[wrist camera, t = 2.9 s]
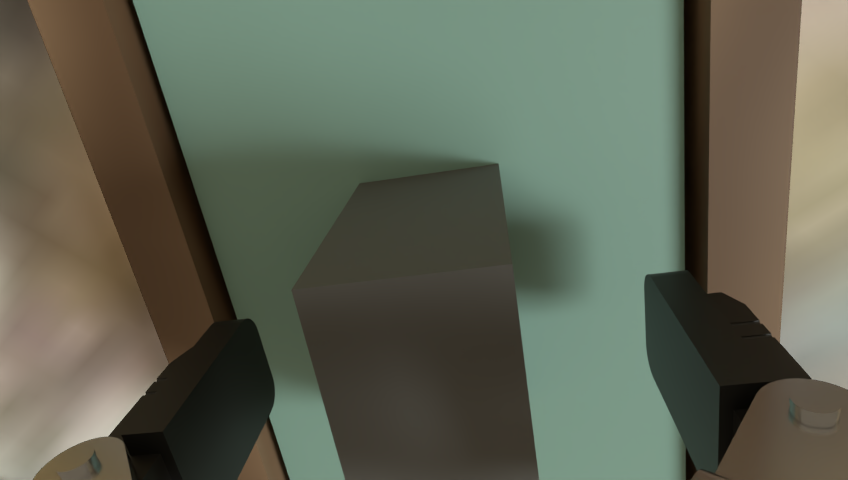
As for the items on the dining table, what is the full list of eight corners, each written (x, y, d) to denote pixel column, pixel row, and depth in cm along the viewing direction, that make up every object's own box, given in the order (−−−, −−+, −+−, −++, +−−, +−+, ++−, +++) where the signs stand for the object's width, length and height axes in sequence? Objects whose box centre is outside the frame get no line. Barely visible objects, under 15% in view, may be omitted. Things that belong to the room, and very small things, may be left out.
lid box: (655, -212, 16) (829, -419, 8) (666, 388, 23) (763, 587, 15) (182, -106, 18) (-47, -189, 10) (330, 417, 25) (263, 606, 17)
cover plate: (664, -207, 10) (881, -446, 5) (674, 534, 17) (771, 795, 11) (130, -88, 12) (-176, -166, 6) (330, 551, 18) (268, 790, 13)
